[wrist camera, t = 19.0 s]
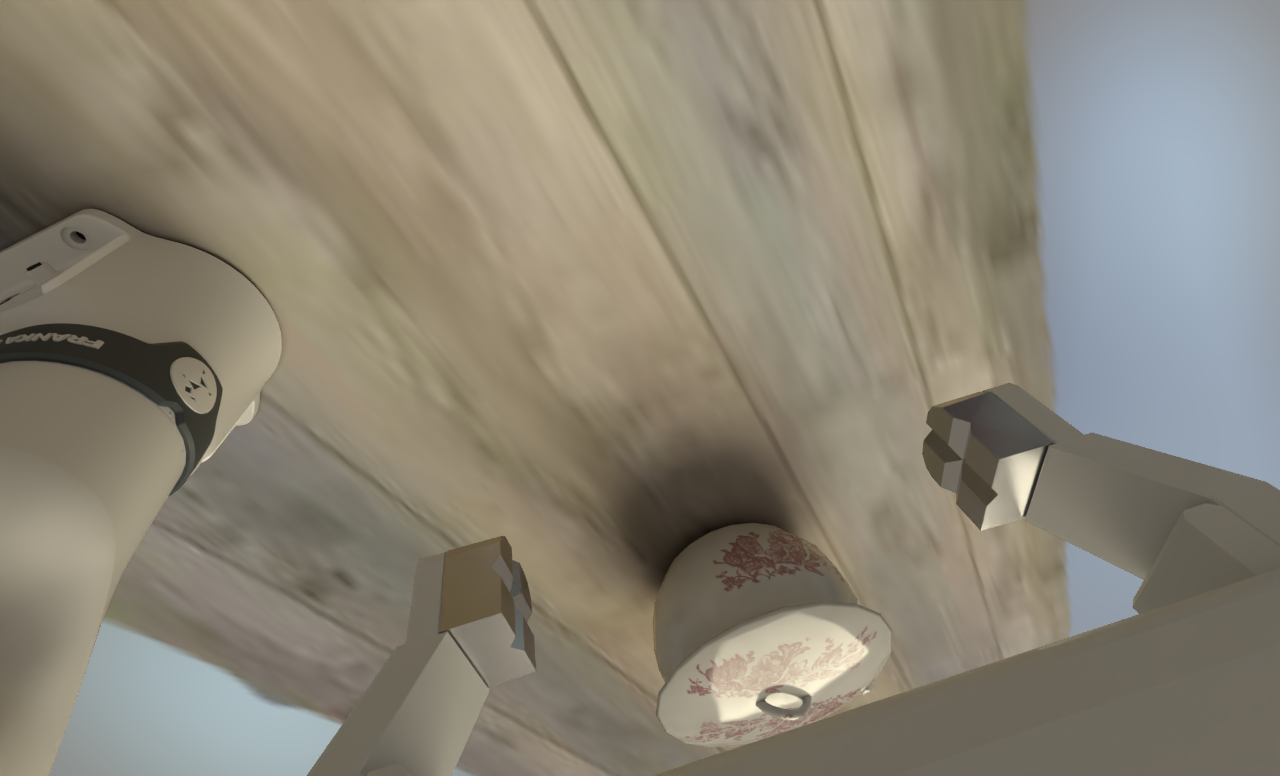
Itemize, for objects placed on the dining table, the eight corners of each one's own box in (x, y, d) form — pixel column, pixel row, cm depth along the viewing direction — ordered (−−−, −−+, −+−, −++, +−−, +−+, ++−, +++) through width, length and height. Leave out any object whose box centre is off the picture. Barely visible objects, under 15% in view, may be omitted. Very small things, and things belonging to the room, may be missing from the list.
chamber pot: (592, 544, 69) (625, 719, 53) (804, 453, 68) (907, 603, 52) (666, 650, 86) (708, 809, 69) (837, 579, 85) (922, 723, 68)
